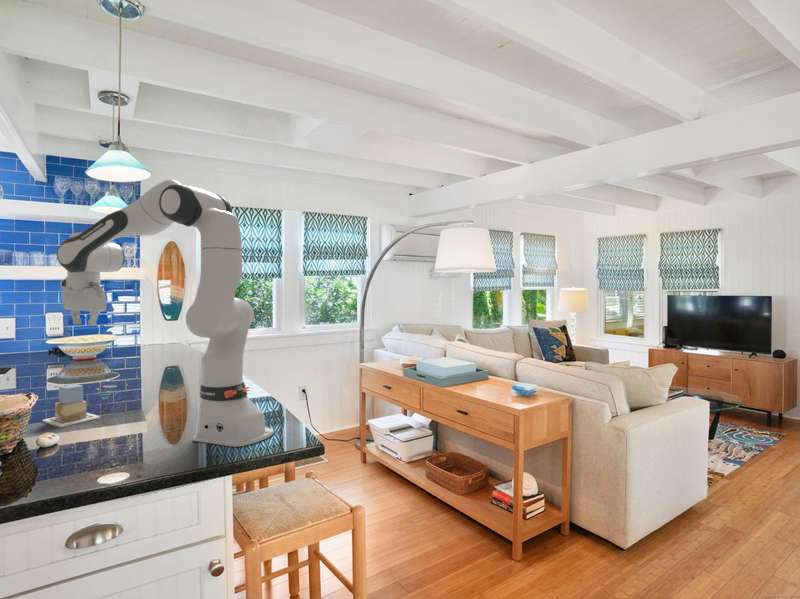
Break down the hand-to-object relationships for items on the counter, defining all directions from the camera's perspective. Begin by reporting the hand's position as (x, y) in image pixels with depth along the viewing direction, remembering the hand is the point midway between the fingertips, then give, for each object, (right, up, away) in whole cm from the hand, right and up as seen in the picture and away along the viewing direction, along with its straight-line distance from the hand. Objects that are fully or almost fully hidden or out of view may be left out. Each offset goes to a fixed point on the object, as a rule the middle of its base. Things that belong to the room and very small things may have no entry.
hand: (84, 324), depth 149 cm
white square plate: (0, -29, -6) cm, 30 cm away
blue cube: (0, -24, -7) cm, 25 cm away
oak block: (0, -29, -6) cm, 29 cm away
